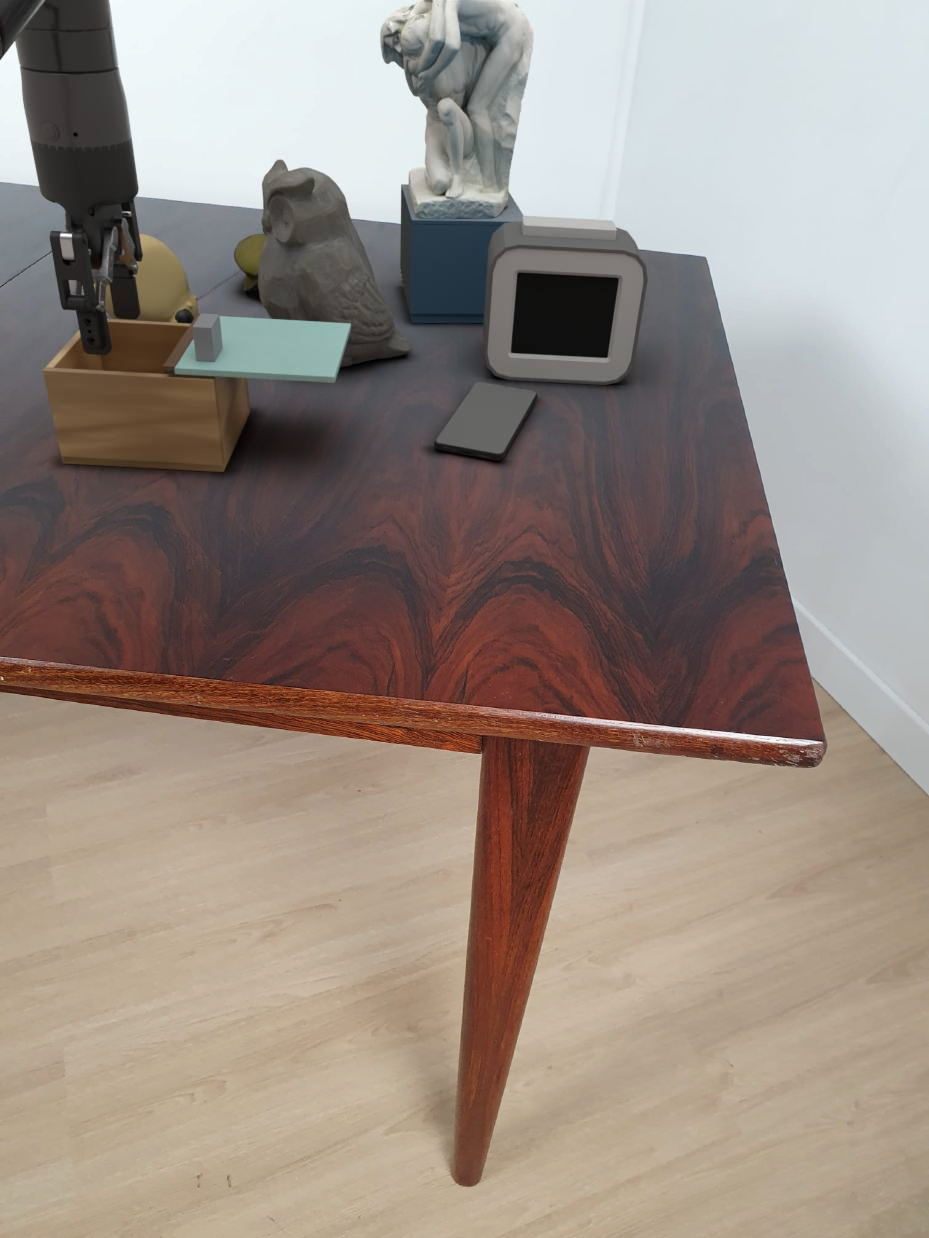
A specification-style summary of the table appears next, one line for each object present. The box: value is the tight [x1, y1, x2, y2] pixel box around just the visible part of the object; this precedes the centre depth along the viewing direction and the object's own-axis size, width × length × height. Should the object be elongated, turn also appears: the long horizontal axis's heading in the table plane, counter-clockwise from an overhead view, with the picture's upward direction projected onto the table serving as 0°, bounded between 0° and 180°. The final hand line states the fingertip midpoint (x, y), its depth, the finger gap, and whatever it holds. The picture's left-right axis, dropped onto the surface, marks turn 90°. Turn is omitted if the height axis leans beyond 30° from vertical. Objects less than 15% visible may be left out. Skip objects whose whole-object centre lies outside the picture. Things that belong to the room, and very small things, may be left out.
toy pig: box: [94, 233, 199, 324], centre depth 111 cm, size 10×12×11 cm
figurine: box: [258, 158, 410, 368], centre depth 104 cm, size 14×16×20 cm
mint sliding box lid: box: [163, 313, 351, 384], centre depth 86 cm, size 12×14×4 cm
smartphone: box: [433, 381, 538, 461], centre depth 98 cm, size 7×1×15 cm
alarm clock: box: [482, 215, 649, 386], centre depth 107 cm, size 16×11×16 cm
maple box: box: [42, 318, 251, 473], centre depth 90 cm, size 12×14×9 cm
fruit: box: [233, 233, 266, 292], centre depth 125 cm, size 11×12×7 cm
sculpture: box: [379, 0, 534, 324], centre depth 116 cm, size 17×16×35 cm
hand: (113, 334), depth 86 cm, fingers open, 8 cm apart
